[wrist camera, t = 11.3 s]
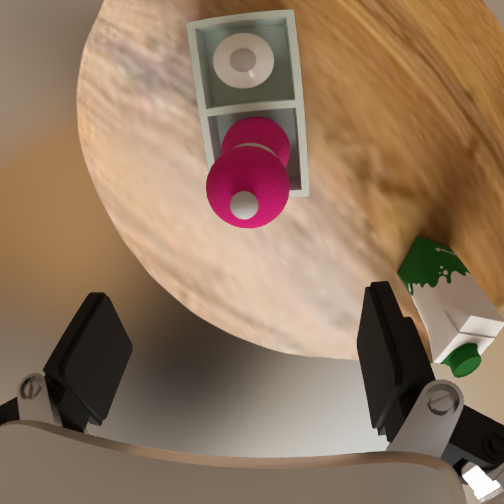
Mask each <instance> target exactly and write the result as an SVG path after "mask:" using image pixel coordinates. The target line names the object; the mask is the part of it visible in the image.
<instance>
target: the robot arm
mask: <svg viewBox="0 0 504 504" xmlns="http://www.w3.org/2000/svg"><path fill="white" fill-rule="evenodd" d="M357 351H358V355H359V360H360V365H361V370H362V374H363V379H364V385H365V390H366V395H367V401H368V407H369V412H370V418H371V424H372V427H373V428H377V430H378V435H379V436H380V435H385V434H386V436H387V441H388V442H390V444H389V446H388V447H387V449H386V451H381V452H367V453H353V454H342V455H332V456H331V455H330V456H316V457H315V456H314V457H289V458H248V457H227V456H226V457H225V456H211V455H201V454H191V453H183V452H175V451H168V450H161V449H155V448H149V447H143V446H137V445H132V444H127V443H122V442H118V441H113V440H109V439H105V438H101V437H96V436H93V435H90V434H89V432H88V429H87V426H86V425H87V423H88V422H89V423H90V424H94V425H98V426H101V424H102V421H103V420H104V419H106V417H107V415H108V412H109V409H110V406H111V404H112V401H113V399H114V396H115V393H116V391H117V388H118V386H119V383H120V380H121V378H122V375H123V373H124V370H125V368H126V365H127V362H128V360H129V358H130V355H131V353H132V343H131V341H130V339H129V337H128V335H127V333H126V331H125V329H124V327H123V325H122V323H121V321H120V319H119V317H118V315H117V313H116V311H115V308H114V306H113V304H112V302H111V300H110V298H109V297H108V296H106V294H105V293H102V292H97V293H96V292H92V293H89V295H88V296H87V297H86V299H85V300H84V302H83V303H82V305H81V307H80V308H79V310H78V311H77V313H76V314H75V316H74V318H73V319H72V321H71V322H70V324H69V326H68V327H67V329H66V331H65V332H64V334H63V335H62V337H61V339H60V341H59V342H58V344H57V346H56V348H55V349H54V351H53V353H52V354H51V356H50V358H49V360H48V362H47V363H46V365H45V367H44V369H43V371H44V372H45V376H44V377H43V376H42V375H41V374H39V373H32V374H29V375H27V376H26V377H25V378H24V379H23V380H22V381H21V382H20V384H19V386H18V389H17V397H15V398H14V399H12V400H10V401H8V402H6V403H5V404H3V405H1V406H0V504H467V501H466V497H465V493H464V490H463V486H462V484H465V485H470V486H471V487H472V488H473V489H474V490H475V491H476V492H475V493H474V494H475V495H476V496H477V498H478V499H479V501H480V502H481V504H504V425H502V424H500V423H498V422H496V421H494V420H492V419H491V418H489V417H487V416H484V415H483V414H481V413H479V412H477V411H475V410H473V409H471V408H470V407H467V406H466V405H464V397H463V394H462V392H461V390H460V389H459V387H458V386H457V385H456V384H454V383H452V382H451V381H447V380H436V379H435V376H434V373H433V371H432V368H431V365H430V362H429V360H428V357H427V354H426V352H425V349H424V346H423V344H422V341H421V339H420V336H419V334H418V331H417V329H416V326H415V324H414V322H413V320H412V318H411V317H403V315H402V312H401V310H400V308H399V305H398V303H397V300H396V298H395V296H394V293H393V291H392V289H391V286H390V284H389V282H388V281H381V282H372V283H371V285H370V287H366V288H365V294H364V301H363V308H362V314H361V320H360V326H359V331H358V337H357ZM461 483H462V484H461Z"/></svg>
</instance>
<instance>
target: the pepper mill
mask: <svg viewBox="0 0 504 504" xmlns="http://www.w3.org/2000/svg"><path fill="white" fill-rule="evenodd" d="M221 154H222V155H221V156H220V157H219V158H217V160H216V161H215V162H214V164H213V165H212V166H211V169H210V171H209V174H208V176H207V181H206V192H207V198H208V201H209V203H210V205H211V207H212V209H213V211H214V212H215V213H216V214H217V215H218V216H219V217H220V218H221V219H222V220H224V221H225V222H227V223H229V224H231V225H233V226H236V227H240V228H256V227H261V226H263V225H266V224H267V223H269V222H271V221H272V220H274V219H275V218H276V217H277V216H278V215H279V214H280V213H281V212H282V210H283V209H284V207H285V205H286V203H287V200H288V197H289V191H290V181H289V177H288V173H287V171H286V169H285V167H286V165H287V163H288V160H289V155H290V144H289V140H288V137H287V135H286V133H285V132H284V130H283V129H282V128H281V127H280V126H279V125H278V124H277V123H275V122H273V121H272V120H270V119H268V118H265V117H259V116H255V117H248V118H244V119H242V120H240V121H238V122H236V123H235V124H234V125H232V126H231V127H230V129H229V130H228V131H227V133H226V135H225V137H224V139H223V142H222V148H221Z"/></svg>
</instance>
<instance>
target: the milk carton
mask: <svg viewBox="0 0 504 504" xmlns="http://www.w3.org/2000/svg"><path fill="white" fill-rule="evenodd" d="M397 274H398V275H399V277H400V279H401V280H402V282H403V284H404V285H405V287H406V289H407V290H408V292H409V294H410V295H411V297H412V299H413V301H414V304H415V306H416V308H417V310H418V312H419V314H420V316H421V319H422V321H423V323H424V325H425V328H426V330H427V332H428V335H429V339H430V345H431V351H432V358H433V362H435V363H441V364H446V365H448V366H450V368H451V370H452V373H453V375H454V376H455V377H457V378H460V377H464V376H467V375H468V374H470V373H472V372H473V371H474V370H475V369H477V367H478V366H479V365H480V363H481V357H480V354H482V353H483V351H484V350H485V349H486V348H487V347H488V345H490V344H491V343H492V342H493V340H494V339H495V336H496V335H497V334H498V332H499V331H500V330H501V328H502V327H503V326H504V319H503V318H502V316H501V315H500V314H499V312H498V311H497V309H496V308H495V307H494V305H493V304H492V303H491V301H490V300H489V299H488V297H487V296H486V295H485V293H484V292H483V290H482V289H481V287H480V286H479V285H478V283H477V282H476V280H475V279H474V278H473V276H472V275H471V274H470V272H469V271H468V270H467V268H466V267H465V266H464V264H463V263H462V262H461V260H460V259H459V258H458V256H457V255H456V254H455V253H454V252H453V251H452V249H451V248H450V247H448V246H445V245H443V244H440V243H437V242H434V241H431V240H429V239H426V238H423V237H420V236H417V237H416V239H415V241H414V243H413V245H412V247H411V249H410V251H409V253H408V255H407V256H406V258H405V260H404V262H403V264H402V266H401V267H400V269H399V271H398V273H397Z"/></svg>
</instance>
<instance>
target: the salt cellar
mask: <svg viewBox="0 0 504 504" xmlns="http://www.w3.org/2000/svg"><path fill="white" fill-rule="evenodd" d="M213 65H214V69H215V72H216V74H217V75H218V77H219V78H220V79H221V80H222V81H223V82H224V83H226V84H228V85H230V86H232V87H235V88H251V87H254V86H257V85H259V84H261V83H262V82H264V81H265V80H266V79H267V78H268V77H269V76H270V74H271V73H272V70H273V66H274V56H273V52H272V49H271V48H270V46H269V45H268V43H267V42H266V41H265V40H263V39H262V38H260V37H259V36H256V35H254V34H250V33H238V34H234V35H231V36H229V37H227V38H226V39H224V40H223V41H222V42H221V43H220V44H219V45H218V47H217V48H216V50H215V53H214V57H213Z"/></svg>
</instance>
